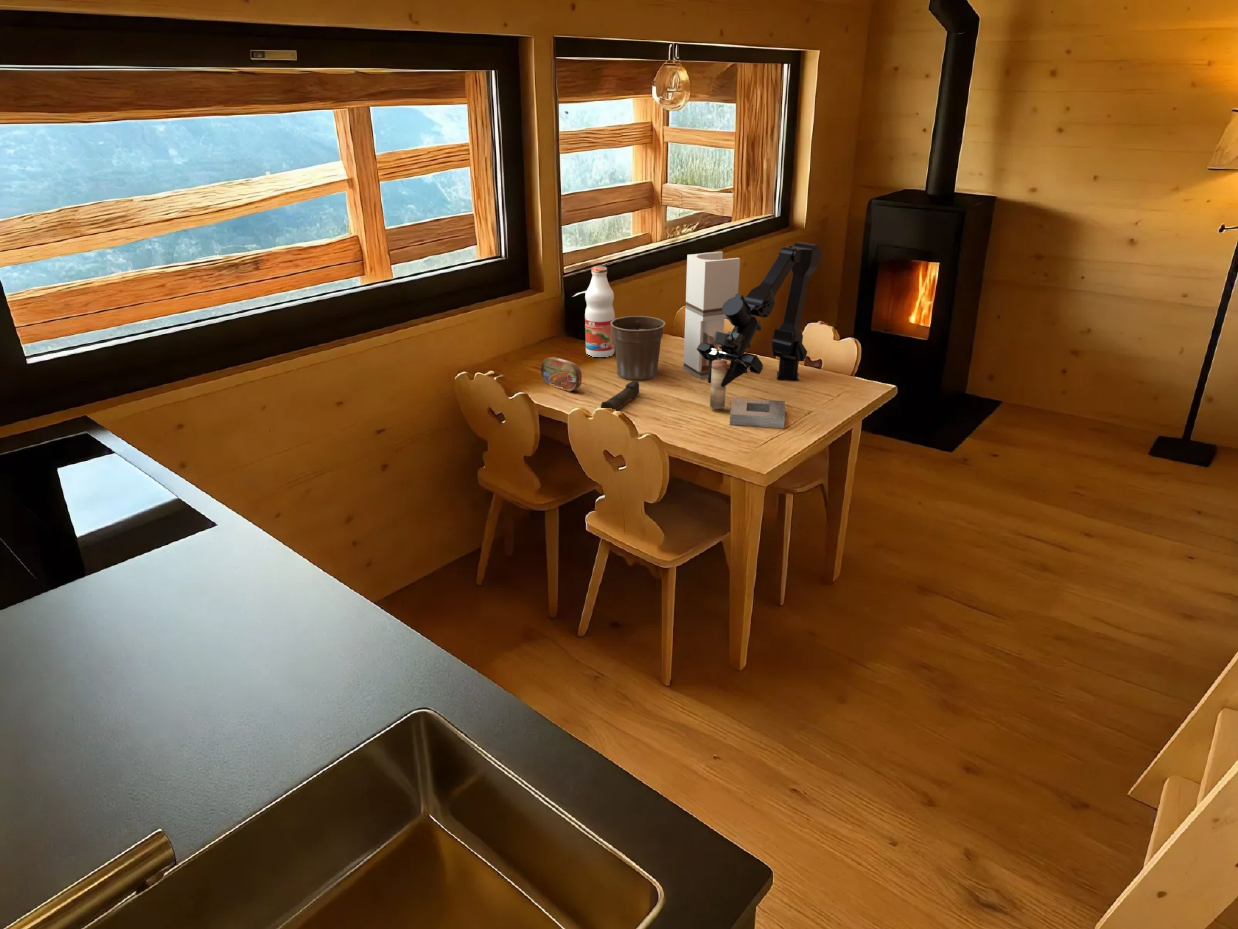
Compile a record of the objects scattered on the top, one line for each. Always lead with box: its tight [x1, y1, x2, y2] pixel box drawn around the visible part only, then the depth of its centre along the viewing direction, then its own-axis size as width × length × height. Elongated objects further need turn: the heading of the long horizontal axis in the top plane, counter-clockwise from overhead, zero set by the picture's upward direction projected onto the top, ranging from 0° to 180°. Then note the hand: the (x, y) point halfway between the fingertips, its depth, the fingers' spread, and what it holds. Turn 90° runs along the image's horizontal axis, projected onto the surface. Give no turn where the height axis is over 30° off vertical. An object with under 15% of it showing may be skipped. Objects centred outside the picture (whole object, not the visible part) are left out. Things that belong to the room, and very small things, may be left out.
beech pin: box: [709, 359, 728, 410], centre depth 227 cm, size 4×4×12 cm
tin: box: [540, 356, 583, 392], centre depth 245 cm, size 15×3×8 cm, turn 47°
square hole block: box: [729, 397, 786, 429], centre depth 225 cm, size 12×14×3 cm
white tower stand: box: [683, 251, 741, 380], centre depth 251 cm, size 11×11×35 cm
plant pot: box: [611, 315, 666, 381], centre depth 253 cm, size 16×16×16 cm
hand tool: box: [600, 379, 640, 410], centre depth 234 cm, size 19×4×5 cm, turn 149°
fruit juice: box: [584, 265, 616, 358], centre depth 268 cm, size 9×9×28 cm
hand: (715, 384), depth 226 cm, fingers closed on beech pin, 4 cm apart
